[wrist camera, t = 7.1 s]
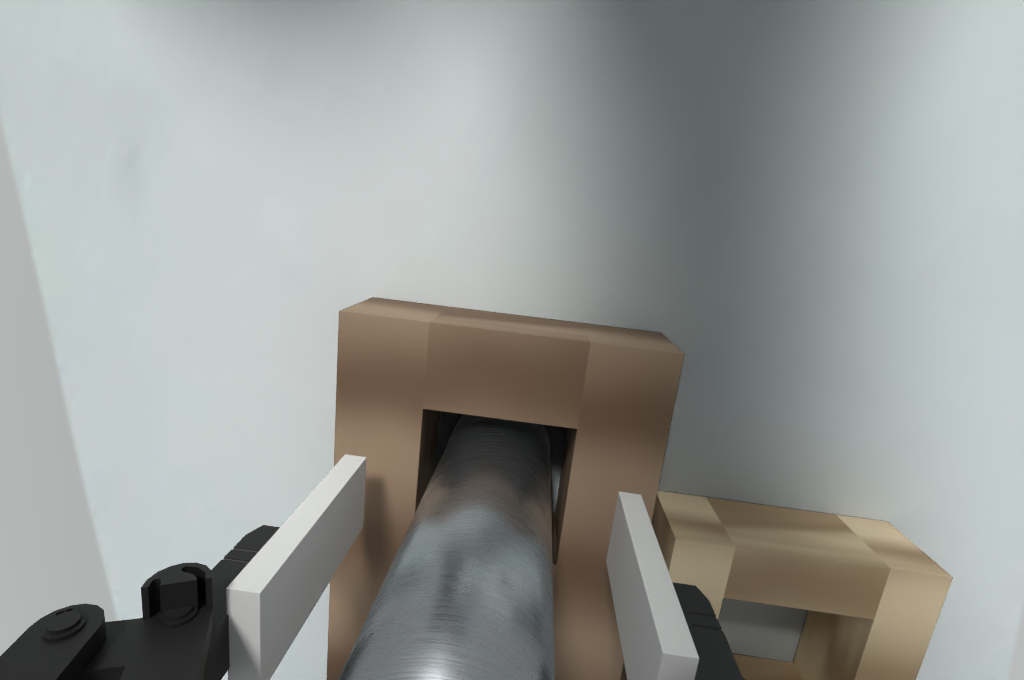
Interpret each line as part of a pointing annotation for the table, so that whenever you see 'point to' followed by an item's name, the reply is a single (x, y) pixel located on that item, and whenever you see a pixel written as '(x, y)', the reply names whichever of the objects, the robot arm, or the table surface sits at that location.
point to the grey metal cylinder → (471, 567)
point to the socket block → (511, 396)
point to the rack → (809, 582)
